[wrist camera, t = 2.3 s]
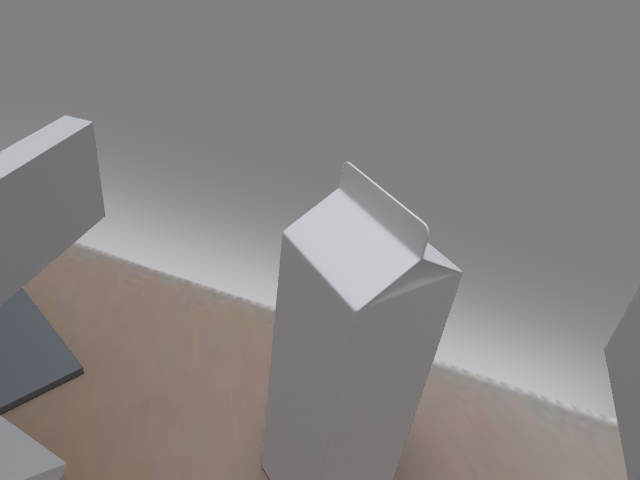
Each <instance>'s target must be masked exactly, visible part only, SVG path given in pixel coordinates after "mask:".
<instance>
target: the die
mask: <svg viewBox="0 0 640 480" xmlns="http://www.w3.org/2000/svg"><path fill="white" fill-rule="evenodd" d="M66 465H67V463H66V462H64V461H63V460H62V459H60V458H59V457H57V456H56V455H55V454H53V453H52V452H50V451H49V450H48V449H46V448H45V447H44V446H42V445H41V444H39V443H38V442H37V441H35V440H34V439H32V438H31V437H30V436H28V435H27V434H26V433H24V432H23V431H21V430H20V429H19V428H17V427H16V426H14V425H13V424H12V423H10V422H9V421H7V420H6V419H5V418H3V417H2V416H0V480H61V477H62V475H63V472H64V470H65V467H66Z"/></svg>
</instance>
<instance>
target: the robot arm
mask: <svg viewBox="0 0 640 480" xmlns="http://www.w3.org/2000/svg"><path fill="white" fill-rule="evenodd" d="M104 216H105V211H104V203H103V196H102V187H101V180H100V172H99V164H98V157H97V149H96V141H95V134H94V127H93V122H91V121H87V120H83V119H78V118H74V117H70V116H66V115H65V116H63V117H62V118H60V119H58V120H56V121H55V122H53V123H51V124H49V125H48V126H46V127H44V128H42V129H40V130H39V131H37V132H35V133H33V134H31V135H30V136H28V137H26V138H24V139H22V140H21V141H19V142H17V143H15V144H14V145H12V146H10V147H8V148H6V149H5V150H3V151H1V152H0V306H1V305H2V304H4V303H5V302H6V301H7V300H8V299H9V298H11V297H12V296H13V295H14V294H15V293H16V292H18V291H19V290H20V289H21V288H22V287H23V286H24V285H26V284H27V283H28V282H29V281H30V280H31V279H33V278H34V277H35V276H36V275H37V274H38V273H40V272H41V271H42V270H43V269H44V268H45V267H47V266H48V265H49V264H50V263H51V262H52V261H53V260H55V259H56V258H57V257H58V256H59V255H60V254H62V253H63V252H64V251H65V250H66V249H67V248H69V247H70V246H71V245H72V244H73V243H74V242H76V241H77V240H78V239H79V238H80V237H81V236H82V235H84V234H85V233H86V232H87V231H88V230H89V229H91V228H92V227H93V226H94V225H95V224H96V223H97V222H99V221H100V220H101V219H102V218H103V217H104ZM604 351H605V356H606V362H607V367H608V372H609V378H610V383H611V389H612V394H613V399H614V405H615V410H616V416H617V421H618V426H619V432H620V437H621V443H622V448H623V453H624V459H625V464H626V470H627V475H628V480H640V287H639V289H638V291H637V293H636V294H635V296H634V298H633V300H632V302H631V303H630V305H629V307H628V309H627V310H626V312H625V314H624V316H623V317H622V319H621V321H620V322H619V324H618V326H617V328H616V330H615V331H614V333H613V335H612V337H611V338H610V340H609V342H608V344H607V345H606V347H605V349H604Z"/></svg>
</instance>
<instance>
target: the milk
mask: <svg viewBox="0 0 640 480" xmlns="http://www.w3.org/2000/svg"><path fill="white" fill-rule="evenodd" d="M428 238H429V229H428V226H427V224H426V223H425V222H423V221H422V220H421V219H420V218H418V217H417V216H416V215H415V214H413V213H412V212H411V211H410V210H408V209H407V208H406V207H405V206H403V205H402V204H401V203H400V202H399V201H397V200H396V199H395V198H393V197H392V196H391V195H390V194H388V193H387V192H386V191H385V190H383V189H382V188H381V187H380V186H379V185H377V184H376V183H375V182H374V181H372V180H371V179H370V178H369V177H367V176H366V175H365V174H364V173H362V172H361V171H360V170H359V169H357V168H356V167H355V166H354V165H352V164H351V163H350V162H345V163H344V164H343V167H342V173H341V179H340V186H339V188H338V189H337V190H336V191H334V192H333V193H332V194H331V195H329V196H328V197H327V198H325V199H324V200H323V201H321V202H320V203H319V204H318V205H316V206H315V207H314V208H312V209H311V210H310V211H308V212H307V213H306V214H305V215H303V216H302V217H301V218H299V219H298V220H297V221H295V222H294V223H293V224H292V225H290V226H289V227H288V228H287V229H285V230H284V232H283V237H282V247H281V258H280V268H279V279H278V290H277V301H276V312H275V322H274V333H273V344H272V355H271V366H270V376H269V387H268V398H267V409H266V420H265V430H264V441H263V452H262V463H261V465H262V467H263V469H264V471H265V473H266V474H267V476H268V478H269V480H393V478H394V475H395V473H396V470H397V467H398V464H399V461H400V458H401V455H402V452H403V449H404V446H405V443H406V440H407V437H408V434H409V431H410V428H411V425H412V422H413V419H414V416H415V413H416V410H417V407H418V404H419V401H420V398H421V395H422V392H423V389H424V386H425V383H426V380H427V378H428V375H429V372H430V369H431V366H432V363H433V360H434V357H435V354H436V351H437V347H438V345H439V342H440V339H441V336H442V333H443V330H444V327H445V324H446V321H447V318H448V315H449V312H450V309H451V306H452V303H453V300H454V297H455V294H456V291H457V288H458V285H459V282H460V279H461V276H462V271H461V270H460V269H459V268H458V267H456V266H455V265H454V264H453V263H452V262H450V261H449V260H448V259H447V258H446V257H444V256H443V255H442V254H441V253H439V252H438V251H437V250H436V249H435V248H434V247H432V246H431V245H430V244H429V243H428Z"/></svg>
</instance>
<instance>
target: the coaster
mask: <svg viewBox="0 0 640 480" xmlns="http://www.w3.org/2000/svg"><path fill="white" fill-rule="evenodd" d="M83 373H84V371H83V367H82V366H81V364H80V363H79V362H78V360H77V359H76V358H75V356H74V355H73V354H72V353H71V351H70V350H69V349H68V347H67V346H66V345H65V343H64V342H63V341H62V339H61V338H60V337H59V336H58V334H57V333H56V332H55V330H54V329H53V328H52V326H51V325H50V324H49V322H48V321H47V320H46V319H45V317H44V316H43V315H42V313H41V312H40V311H39V309H38V308H37V307H36V305H35V304H34V303H33V302H32V300H31V299H30V298H29V296H28V295H27V294H26V292H25V291H24V290H23V289H22V288H21V289H20V290H19V291H18V292H16V293H15V294H14V295H13V296H12V297H11V298H9V299H8V300H7V301H6V302H5V303H4V304H2V305H1V306H0V414H2V413H4V412H6V411H8V410H10V409H12V408H14V407H16V406H18V405H20V404H22V403H24V402H26V401H28V400H30V399H32V398H34V397H36V396H38V395H40V394H43V393H45V392H47V391H49V390H51V389H53V388H55V387H57V386H59V385H61V384H63V383H65V382H67V381H69V380H71V379H73V378H75V377H77V376H79V375H81V374H83Z"/></svg>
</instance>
